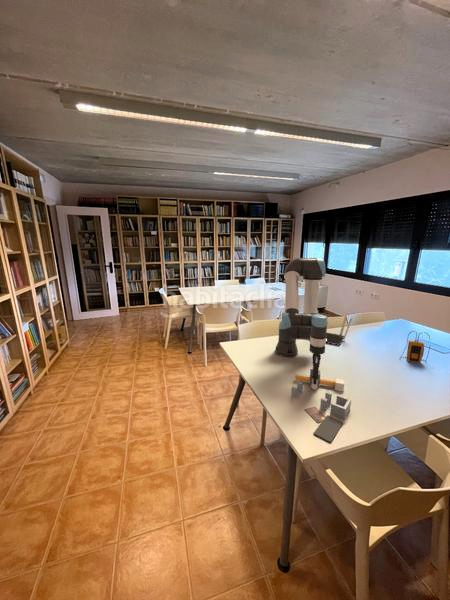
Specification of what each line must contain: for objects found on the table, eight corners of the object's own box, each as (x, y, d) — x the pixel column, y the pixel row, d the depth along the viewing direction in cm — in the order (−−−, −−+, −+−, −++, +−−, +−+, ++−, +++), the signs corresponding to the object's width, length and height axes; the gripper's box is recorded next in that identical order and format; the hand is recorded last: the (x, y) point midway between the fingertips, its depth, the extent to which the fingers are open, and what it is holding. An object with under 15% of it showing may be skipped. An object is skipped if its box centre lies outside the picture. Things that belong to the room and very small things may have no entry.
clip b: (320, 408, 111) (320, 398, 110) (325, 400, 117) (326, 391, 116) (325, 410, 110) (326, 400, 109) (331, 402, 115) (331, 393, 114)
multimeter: (423, 357, 161) (428, 328, 157) (428, 364, 152) (433, 333, 148) (396, 354, 167) (400, 326, 163) (399, 360, 158) (404, 330, 154)
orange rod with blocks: (294, 382, 133) (295, 370, 131) (295, 378, 137) (296, 366, 136) (343, 391, 124) (344, 379, 123) (342, 386, 129) (344, 374, 128)
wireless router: (300, 338, 197) (302, 314, 192) (309, 330, 215) (310, 308, 211) (347, 348, 178) (349, 321, 173) (352, 338, 196) (354, 314, 192)
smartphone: (343, 422, 102) (330, 442, 91) (343, 424, 102) (330, 444, 92) (327, 414, 107) (312, 433, 96) (326, 416, 107) (312, 435, 96)
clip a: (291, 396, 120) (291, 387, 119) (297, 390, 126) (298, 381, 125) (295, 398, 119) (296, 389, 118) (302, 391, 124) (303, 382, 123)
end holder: (330, 413, 108) (331, 403, 107) (336, 404, 115) (337, 394, 113) (344, 419, 104) (345, 409, 103) (350, 409, 111) (351, 399, 110)
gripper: (325, 354, 115) (322, 396, 120) (324, 337, 136) (321, 374, 141) (309, 352, 118) (306, 393, 122) (310, 336, 139) (308, 372, 143)
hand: (314, 383), depth 131 cm, fingers open, 10 cm apart
